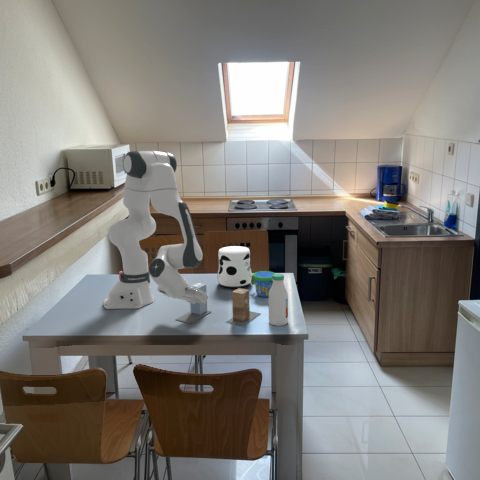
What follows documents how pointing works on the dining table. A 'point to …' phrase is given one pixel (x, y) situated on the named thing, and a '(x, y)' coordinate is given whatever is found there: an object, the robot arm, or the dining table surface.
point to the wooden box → (240, 304)
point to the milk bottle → (278, 301)
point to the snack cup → (262, 282)
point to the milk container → (234, 267)
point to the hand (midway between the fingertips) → (192, 302)
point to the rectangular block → (198, 307)
